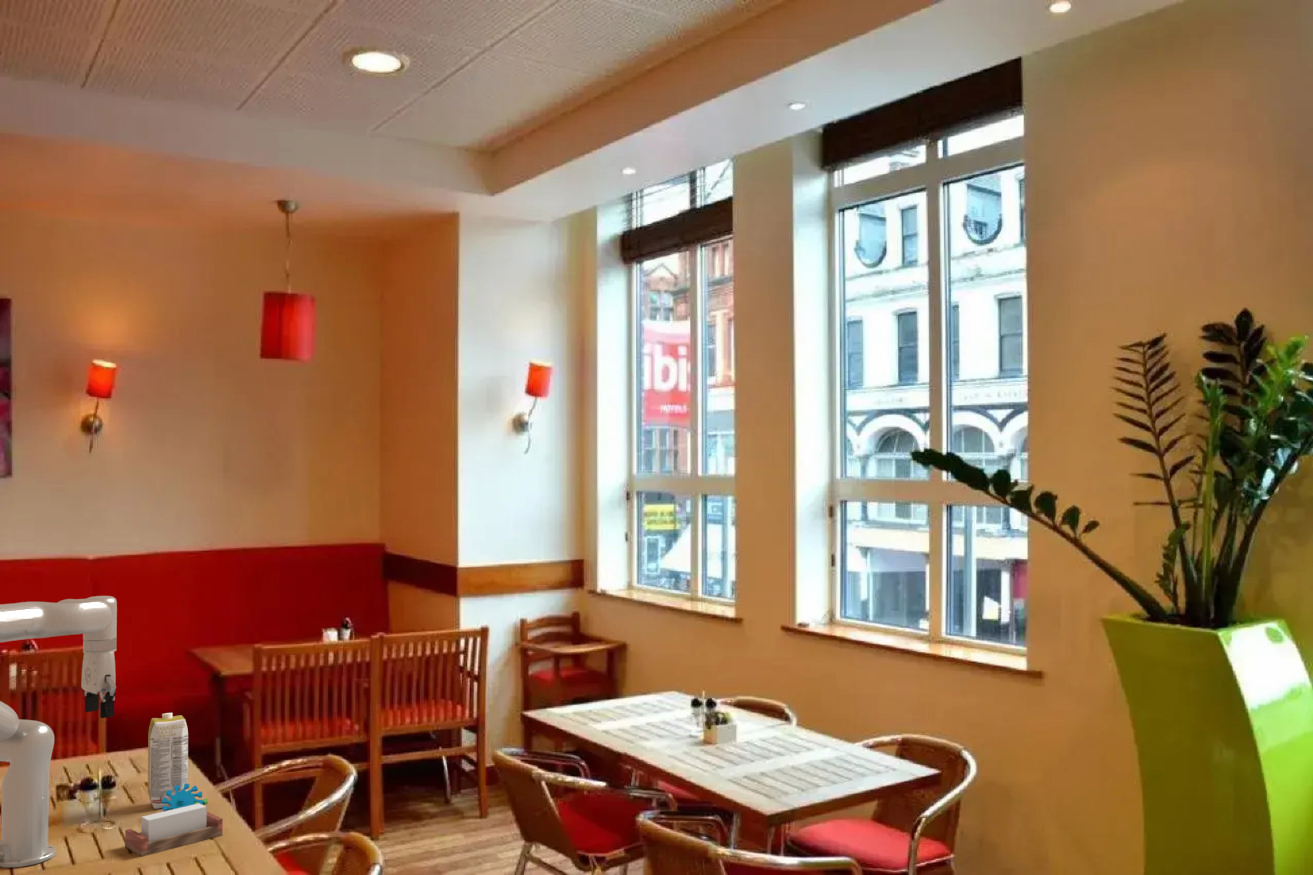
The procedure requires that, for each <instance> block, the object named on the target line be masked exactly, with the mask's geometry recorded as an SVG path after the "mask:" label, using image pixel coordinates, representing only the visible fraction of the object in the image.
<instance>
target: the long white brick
mask: <svg viewBox="0 0 1313 875" xmlns="http://www.w3.org/2000/svg"><path fill="white" fill-rule="evenodd" d="M207 809H208V808H207V805H205V804H204V805H202V804H200V803H198V804H194V805H190V806H186V807H181V808H177V809H173V810H168V811H164V812H163V811H161V812H156V813H152V814H149V815H148V814H146V815H144V816H141V830H140V831H141V832H140V833H141V835H143V836H145V837H147V842H151V841H155V840H158V839H162V838H166V837H170V836H174V835H178V834H182V833H186V832H190V831H194V830H198V829H202V828H206V821H207V812H208V810H207Z"/></svg>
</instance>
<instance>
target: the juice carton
mask: <svg viewBox="0 0 1313 875" xmlns="http://www.w3.org/2000/svg"><path fill="white" fill-rule="evenodd" d="M161 716H162V717H159V718H158V717H154V718H153V717H152V718H151V719H150V723H149V728H148V735H147V736H148V739H147V740H148V741H147V743H148V746H147V747H148V750H147V753H148V754H147V763H148V764H147V794H148V797H149V801H150V804H151V805H152V807H153V809H155V810H156V809H163V806H167V807H170V806H171V805H169V804H163V803H162V799H163V798H164V797H165V798H167V800H168V801H171V798H170V797H169V796H167V795H166V792H167V791H168V790H171V791H172V794H171V795H175V793H176V791H175V789H174V786H175V785H180V789H179V790H178V792H180V791H182V790H183V788H184V784H185V783H187V784H189V783H188V782H189V781H188V776H189V772H188V770H189V731H188V724H187V719H186V718H185V717H184V716H183V715H175V716H174V715H173V712H166V713H162V714H161ZM185 791H188V789H186V790H185Z"/></svg>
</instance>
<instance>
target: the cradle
mask: <svg viewBox="0 0 1313 875" xmlns="http://www.w3.org/2000/svg"><path fill="white" fill-rule="evenodd" d="M223 824H224V822H223V818H222V817H219V816H218V815H215V814H213V813H211V812H209V811H207V821H206V828H202V829H198V830H194V831H190V832H186V833H182V834H178V835H174V836H170V837H166V838H162V839H158V840H155V841H151V842H147V837H145V836H143V835H141V832H137V831H136V830H134V829H132V828H128V829H125V832H124V835H125V836H124V838H125V839H124V841H125V842H124V843H125V845H124V847H125V848H126V849H128V850H130V851H132V852H133V853H136V854H137V855H139V856H140V857H144V856H149V855H152V854H155V853H160V852H163V851H167V850H171V849H175V848H178V847H183V846H187V845H190V844H194V843H197V842H202V841H206V840H209V839H212V838H217V837H221V836H223Z"/></svg>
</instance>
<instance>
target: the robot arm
mask: <svg viewBox="0 0 1313 875" xmlns="http://www.w3.org/2000/svg"><path fill="white" fill-rule="evenodd" d="M117 604H118V602H117V598H115V597H114V596H111V595H96V596H90V597H87V598H78V599H76V598H75V599H74V598H67V599H66V598H65V599H63V600H59V601H58V602H47V601H25V602H24V601H21V602H16V603H14V602H13V603H4V604H1V603H0V643H6V642H12V641H21V640H30V639H45V638H51V637H61V636H62V637H63V636H70V635H81V634H82V640H83V641H82V642H83V643H82V645H83V646H82V653H83V657H82V658H83V659H82V666H81V667H82V668H81V684H80V685H81V686H80V687H81V689H82V690H84V712H85V713H91V712H98V711H99V717H100V718H101V719H106V718H112V717H114V716H115V700H116V697H115V696H116V690H117V685H116V659H115V652H116V651H117V627H118V626H117V623H118V620H117V619H118V618H117V616H118V614H117V613H118V606H117ZM99 696H100V697H99ZM100 699H101V701H100ZM54 745H55V734H54V731H53V729H52V728H51V727H50V726H49V725H48V724H46V723H45V722H42V721H38V720H31V719H21V718H20V719H19V716H18V714H17V713H16V712H15V710H14V709H13V708H12V707H11V706H9V705H8V704H6V703H4V702H3V701H1V700H0V762H7V763H9V767H8V768H7V771H6V772H5V774H4V776H3V779H2V783H1V813H0V814H1V816H0V817H1V821H0V822H1V824H0V825H1V827H0V830H1V832H0V836H1V839H0V868H7V869H9V868H20V867H21V868H22V867H27V866H28V867H29V866H32V865H37V864H41V863H43V862H46V861H48V860H50V859H51V858H53V857H54V856H55V855H56V853H57V850H56V849H57V848H56V846H54V845H51V844H49V810H50V807H49V805H50V804H49V802H50V801H49V797H50V796H49V795H50V782H49V781H50V765H51V759H52V755H53V754H52V753H53V749H54Z"/></svg>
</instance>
